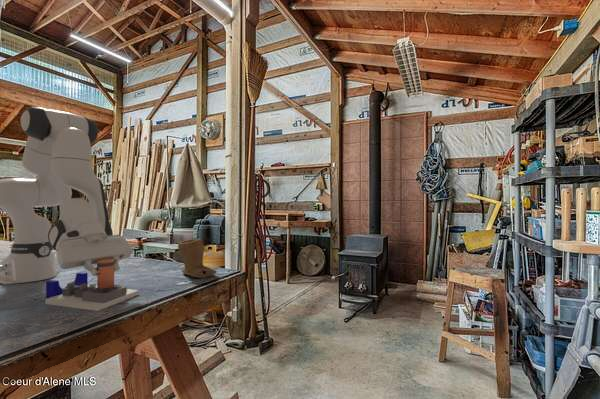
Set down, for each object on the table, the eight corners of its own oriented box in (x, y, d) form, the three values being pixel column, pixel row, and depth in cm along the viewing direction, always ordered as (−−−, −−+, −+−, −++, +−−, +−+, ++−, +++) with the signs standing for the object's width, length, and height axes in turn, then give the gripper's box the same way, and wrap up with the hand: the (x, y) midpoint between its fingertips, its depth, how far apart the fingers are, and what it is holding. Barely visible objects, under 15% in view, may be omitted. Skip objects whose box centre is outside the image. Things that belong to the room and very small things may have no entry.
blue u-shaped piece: (76, 289, 109) (76, 271, 108) (87, 289, 108) (87, 272, 108) (42, 300, 97) (42, 281, 97) (54, 301, 96) (54, 282, 96)
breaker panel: (45, 304, 93) (45, 287, 93) (91, 289, 107) (91, 275, 107) (97, 311, 87) (97, 293, 87) (138, 294, 102) (138, 279, 102)
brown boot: (173, 274, 129) (173, 238, 128) (201, 269, 137) (201, 235, 136) (188, 281, 117) (188, 242, 117) (217, 276, 125) (217, 239, 125)
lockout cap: (93, 287, 93) (93, 260, 93) (109, 283, 97) (109, 258, 97) (102, 289, 91) (101, 262, 91) (117, 285, 95) (117, 259, 95)
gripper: (119, 240, 109) (135, 271, 104) (48, 248, 91) (64, 286, 86) (126, 228, 106) (143, 259, 101) (55, 234, 89) (72, 272, 84)
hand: (106, 272), depth 94 cm, fingers closed on lockout cap, 4 cm apart
